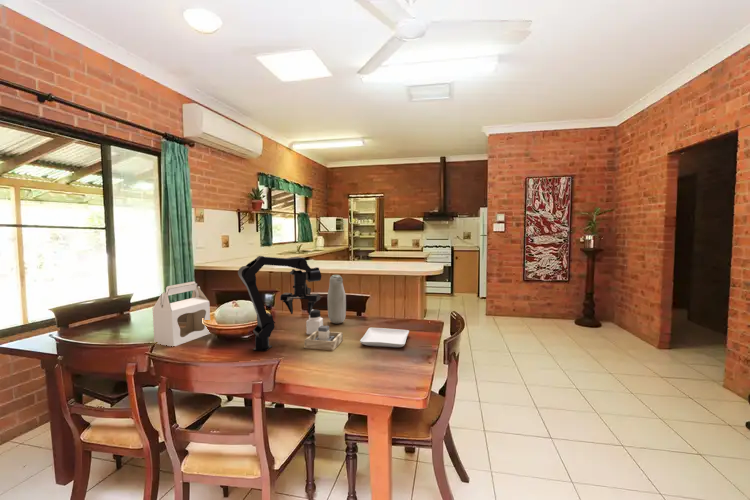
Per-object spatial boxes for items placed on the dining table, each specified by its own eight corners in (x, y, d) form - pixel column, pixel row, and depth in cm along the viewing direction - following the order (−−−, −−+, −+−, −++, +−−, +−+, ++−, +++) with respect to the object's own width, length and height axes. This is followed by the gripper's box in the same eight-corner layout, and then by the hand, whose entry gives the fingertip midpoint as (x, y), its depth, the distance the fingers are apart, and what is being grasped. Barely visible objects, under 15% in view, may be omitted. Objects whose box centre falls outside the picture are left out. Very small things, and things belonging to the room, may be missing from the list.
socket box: (333, 350, 158) (333, 341, 158) (304, 348, 161) (304, 340, 160) (342, 340, 172) (342, 332, 171) (315, 338, 174) (315, 330, 174)
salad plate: (404, 350, 158) (404, 343, 157) (359, 347, 162) (359, 340, 162) (409, 336, 178) (409, 329, 178) (369, 333, 183) (369, 327, 182)
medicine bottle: (323, 330, 187) (322, 308, 186) (319, 334, 180) (319, 312, 179) (310, 330, 188) (309, 308, 187) (306, 334, 181) (305, 311, 180)
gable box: (173, 347, 163) (169, 288, 161) (153, 343, 168) (150, 286, 166) (211, 333, 184) (209, 280, 182) (193, 330, 189) (190, 279, 187)
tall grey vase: (349, 322, 203) (348, 274, 201) (338, 326, 194) (337, 276, 192) (335, 319, 208) (335, 273, 206) (324, 323, 200) (323, 275, 197)
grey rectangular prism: (326, 345, 164) (326, 328, 163) (318, 344, 165) (318, 327, 164) (329, 342, 168) (329, 325, 167) (321, 341, 168) (321, 325, 168)
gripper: (323, 280, 175) (324, 311, 177) (289, 279, 179) (290, 309, 181) (315, 284, 165) (316, 317, 166) (279, 283, 168) (280, 315, 170)
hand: (300, 314), depth 171 cm, fingers open, 9 cm apart
